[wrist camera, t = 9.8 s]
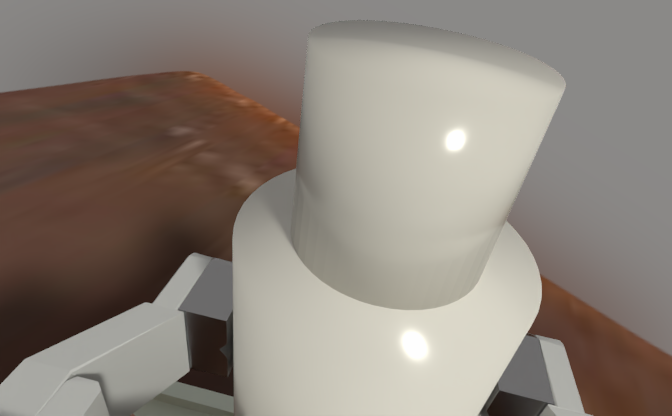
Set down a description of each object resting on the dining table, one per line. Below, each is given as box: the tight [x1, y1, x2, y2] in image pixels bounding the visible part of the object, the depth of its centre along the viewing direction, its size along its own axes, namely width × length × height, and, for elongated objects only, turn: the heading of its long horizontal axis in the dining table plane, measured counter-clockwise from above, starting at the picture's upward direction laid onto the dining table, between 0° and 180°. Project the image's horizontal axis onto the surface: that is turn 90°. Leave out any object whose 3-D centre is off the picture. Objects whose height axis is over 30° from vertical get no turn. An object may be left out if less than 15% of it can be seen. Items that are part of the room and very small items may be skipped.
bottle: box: [233, 20, 566, 416], centre depth 9 cm, size 5×5×14 cm
